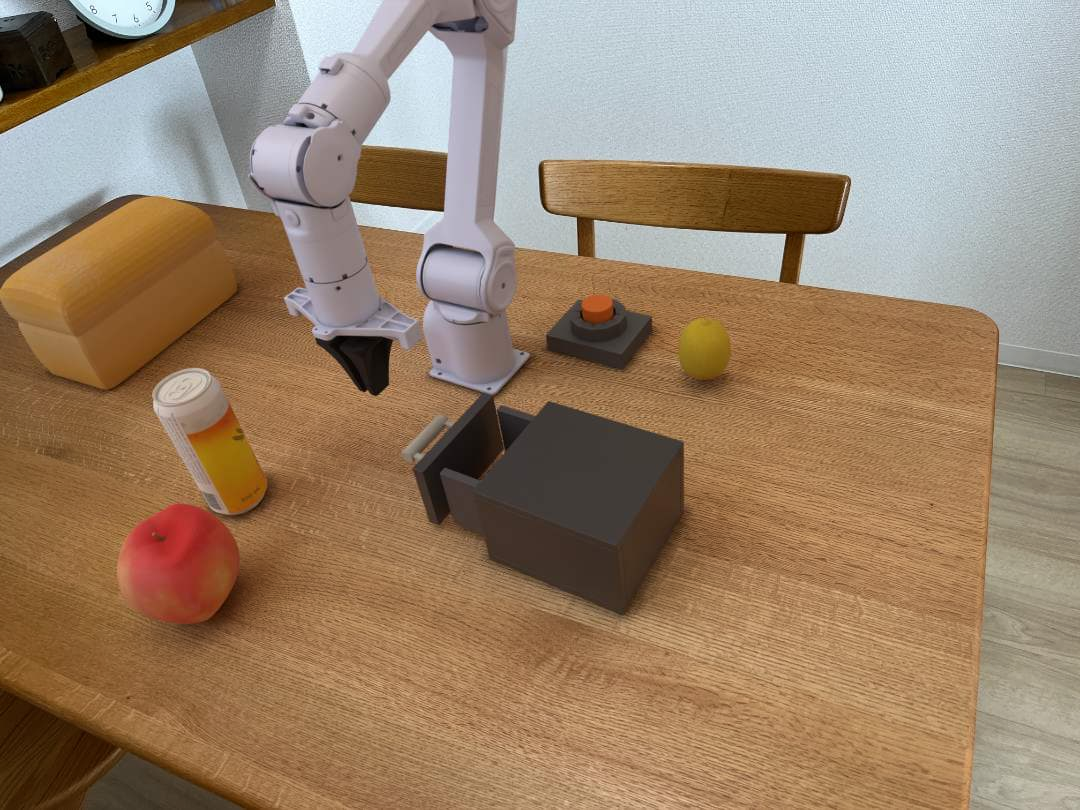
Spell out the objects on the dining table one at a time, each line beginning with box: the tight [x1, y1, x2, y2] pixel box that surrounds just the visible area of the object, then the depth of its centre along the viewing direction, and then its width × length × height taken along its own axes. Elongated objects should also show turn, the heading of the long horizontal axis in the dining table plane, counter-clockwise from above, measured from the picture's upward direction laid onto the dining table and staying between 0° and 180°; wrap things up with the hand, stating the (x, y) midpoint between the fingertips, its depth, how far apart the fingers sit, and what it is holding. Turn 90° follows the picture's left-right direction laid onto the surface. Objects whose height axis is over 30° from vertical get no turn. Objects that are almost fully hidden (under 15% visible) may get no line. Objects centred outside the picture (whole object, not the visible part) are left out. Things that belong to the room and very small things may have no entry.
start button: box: [581, 294, 613, 324], centre depth 94 cm, size 4×4×2 cm
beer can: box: [151, 367, 268, 516], centre depth 79 cm, size 6×6×15 cm
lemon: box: [677, 317, 732, 381], centre depth 86 cm, size 6×6×8 cm
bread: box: [0, 195, 238, 391], centre depth 106 cm, size 24×13×15 cm, turn 154°
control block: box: [545, 298, 653, 370], centre depth 95 cm, size 10×8×4 cm
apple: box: [116, 503, 240, 625], centre depth 70 cm, size 10×10×10 cm
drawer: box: [400, 392, 536, 536], centre depth 76 cm, size 17×11×7 cm
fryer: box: [473, 400, 685, 616], centre depth 71 cm, size 14×13×9 cm
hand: (374, 387), depth 78 cm, fingers closed
